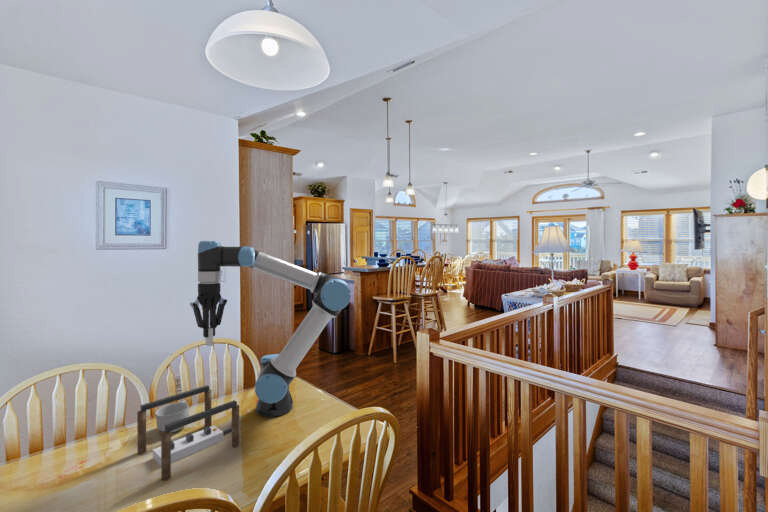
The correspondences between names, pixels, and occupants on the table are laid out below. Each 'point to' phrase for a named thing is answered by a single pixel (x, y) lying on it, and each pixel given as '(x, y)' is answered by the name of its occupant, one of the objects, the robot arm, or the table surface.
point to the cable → (199, 416)
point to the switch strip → (192, 443)
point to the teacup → (171, 414)
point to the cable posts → (167, 435)
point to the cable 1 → (174, 398)
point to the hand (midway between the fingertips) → (209, 345)
